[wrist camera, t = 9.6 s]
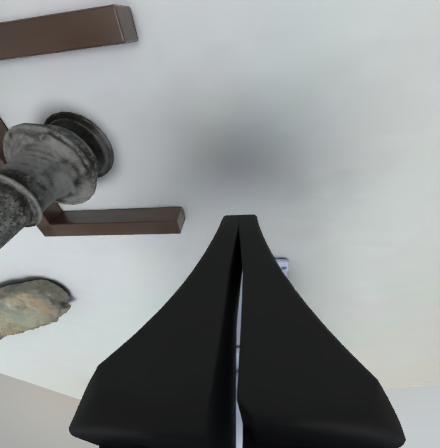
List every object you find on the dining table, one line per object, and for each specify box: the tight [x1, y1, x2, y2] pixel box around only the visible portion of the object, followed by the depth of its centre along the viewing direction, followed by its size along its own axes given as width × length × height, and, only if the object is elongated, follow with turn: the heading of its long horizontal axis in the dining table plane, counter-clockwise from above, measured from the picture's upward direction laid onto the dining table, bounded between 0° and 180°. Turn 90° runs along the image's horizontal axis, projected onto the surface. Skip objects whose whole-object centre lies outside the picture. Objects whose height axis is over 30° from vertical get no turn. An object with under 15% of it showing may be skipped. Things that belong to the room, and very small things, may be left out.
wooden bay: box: [0, 4, 185, 236], centre depth 18 cm, size 15×14×2 cm
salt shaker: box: [0, 112, 113, 249], centre depth 14 cm, size 6×6×12 cm
